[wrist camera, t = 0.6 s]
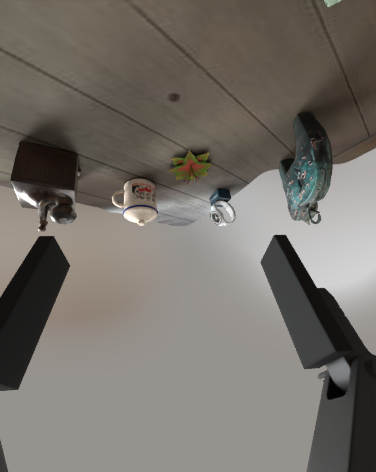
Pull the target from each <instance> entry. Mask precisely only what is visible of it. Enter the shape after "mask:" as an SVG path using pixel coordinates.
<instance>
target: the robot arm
mask: <svg viewBox="0 0 376 472" xmlns="http://www.w3.org/2000/svg"><path fill="white" fill-rule="evenodd" d="M261 265H262V267H263V269H264V272H265V275H266V277H267V279H268V282H269V284H270V287H271V289H272V292H273V294H274V297H275V299H276V302H277V304H278V306H279V309H280V311H281V314H282V316H283V319H284V321H285V324H286V326H287V328H288V331H289V333H290V336H291V338H292V341H293V343H294V346H295V348H296V351H297V353H298V355H299V358H300V360H301V363H302V365H303V367H304V369H312V368H320V367H322V366H324V365H326V367H327V369H328V370H326V371H324V372H322V373H320V374H319V375H318V378H319V379H321V378H324V377H325V379H324V381H323V382H324V384H323V389H322V395H321V400H320V405H319V410H318V416H317V421H316V426H315V431H314V436H313V442H312V447H311V452H310V457H309V462H308V468H307V472H376V356H375V355H373V354H371V353H370V352H369V351H368V350H367V348H366V347H365V346H364V344H363V342H362V341H361V339H360V338H359V336H358V335H357V333H356V332H355V330H354V328H353V327H352V325H351V324H350V322H349V320H348V319H347V317H346V316H345V315H344V312H343V311H342V309H341V308H340V307H339V305H338V303H337V301H336V300H335V299H334V297H333V296H332V295H331V294H330V293H329V292H328V291H327V290H326V289H325V288H317V287H316V286H315V284H314V282H313V280H312V279H311V277H310V275H309V274H308V272H307V270H306V269H305V267H304V265H303V263H302V262H301V260H300V258H299V257H298V255H297V253H296V252H295V250H294V248H293V247H292V245H291V243H290V241H289V240H288V238H287V236H286V235H274V236H273V238H272V240H271V242H270V244H269V246H268V248H267V250H266V252H265V254H264V256H263V258H262V260H261ZM69 267H70V265H69V263H68V261H67V260H66V257H65V256H64V254H63V252H62V250H61V249H60V247H59V245H58V243H57V241H56V240H55V238H54V236H40V237H38V239H37V241H36V242H35V244H34V245H33V247H32V248H31V250H30V252H29V253H28V255H27V256H26V258H25V260H24V261H23V263H22V264H21V266H20V267H19V269H18V270H17V272H16V274H15V275H14V277H13V278H12V280H11V281H10V283H9V285H8V286H7V288H6V289H5V291H4V292H3V294H2V296H1V297H0V391H5V390H18V389H19V386H20V384H21V381H22V379H23V376H24V374H25V372H26V370H27V367H28V365H29V362H30V360H31V358H32V355H33V353H34V351H35V348H36V345H37V343H38V341H39V338H40V336H41V334H42V331H43V329H44V327H45V324H46V322H47V320H48V317H49V315H50V313H51V310H52V308H53V305H54V303H55V301H56V298H57V296H58V293H59V291H60V289H61V286H62V284H63V281H64V279H65V277H66V275H67V272H68V270H69ZM0 472H8V469H7V465H6V462H5V457H4V453H3V449H2V445H1V441H0Z"/></svg>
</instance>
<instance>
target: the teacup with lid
mask: <svg viewBox="0 0 376 472" xmlns="http://www.w3.org/2000/svg"><path fill="white" fill-rule="evenodd" d="M117 194H124V204H121V203H119V202H117V201H116V195H117ZM112 201H113V203H114V204H115V205H116V206H118V207H122V208H124V212H123V214H124V217H125V218H126V219H127V220H129V221H131V222H136V223H138V225H141V226H142V225H144V224H145V222H149V221H152V220H154V219H155V218H156V217H157V215H158V211H157V207H156V193H155V186H154V184H153V183H152V182H150V181H149V180H146V179H132V180H130V181H128V182H126V184H125V185H124V190H117V191H116V192H115V193H114V194H113V197H112Z"/></svg>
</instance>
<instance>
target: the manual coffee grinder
mask: <svg viewBox="0 0 376 472" xmlns="http://www.w3.org/2000/svg"><path fill="white" fill-rule="evenodd" d="M80 175H81V169H80V167H79V158H78V155H77V154H74V153H71V152H68V151H65V150H61V149H56V148H52V147H48V146H43V145H39V144H33V143H26V142H20V143H19V147H18V151H17V154H16V158H15V162H14V166H13V170H12V175H11V183H12V185H13V187H14V190H15V192H16V195H17V197H18V199H19V201H20V204H21V206H22V207H24V208H32V209H38V212H39V227H38V230H39V231H40V232H44V231H45V230H46V225H47V224H48V222H47V221H46V218H47V213H48V211H51V212H50V216H51V218H52V220H53V221H54V222H56V223H59V224H68V223H72V222H73V221H74V220H75V218H76V217H77V215H76V213H75V211H74V210H75V200H76V192H77V182H78V177H79V176H80Z"/></svg>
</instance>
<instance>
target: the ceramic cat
mask: <svg viewBox="0 0 376 472" xmlns="http://www.w3.org/2000/svg"><path fill="white" fill-rule="evenodd" d="M293 128H294V131H295V138H296V156H295V160H293V159H287V160H283V161H280V166H279V172H280V176H281V179H282V182H283V188H284V191H285V194H286V197H287V201H288V209H289V212H290V215H291V217H292V219H293V220H295V221H298V220H303V221H305V222H306V223H308V224H309V225H310V223H309V219H311V222H312V223H314V224H318V223H319V222H320V221H321V216H320V214H318V213H320V212H318V211H317V209H318V204H317V201H319V200H321V199H323V198H324V196H325V195H326V193H327V191H328V189H329V187H330V181H331V175H332V163H333V161H332V152H331V145H330V141H329V139H328V136H327V134H326V131H325V130H324V128H323V127H322V126H321V124H320V123H319V122H318V121H317V120H316V118H315V116H314V115H313V113H312V112H306V113H303V114H298V115H297V116H296V118H295V121H294V126H293ZM315 214H318V221H317V222H314V221H313V220H312V218H313V217H314V216H315Z"/></svg>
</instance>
